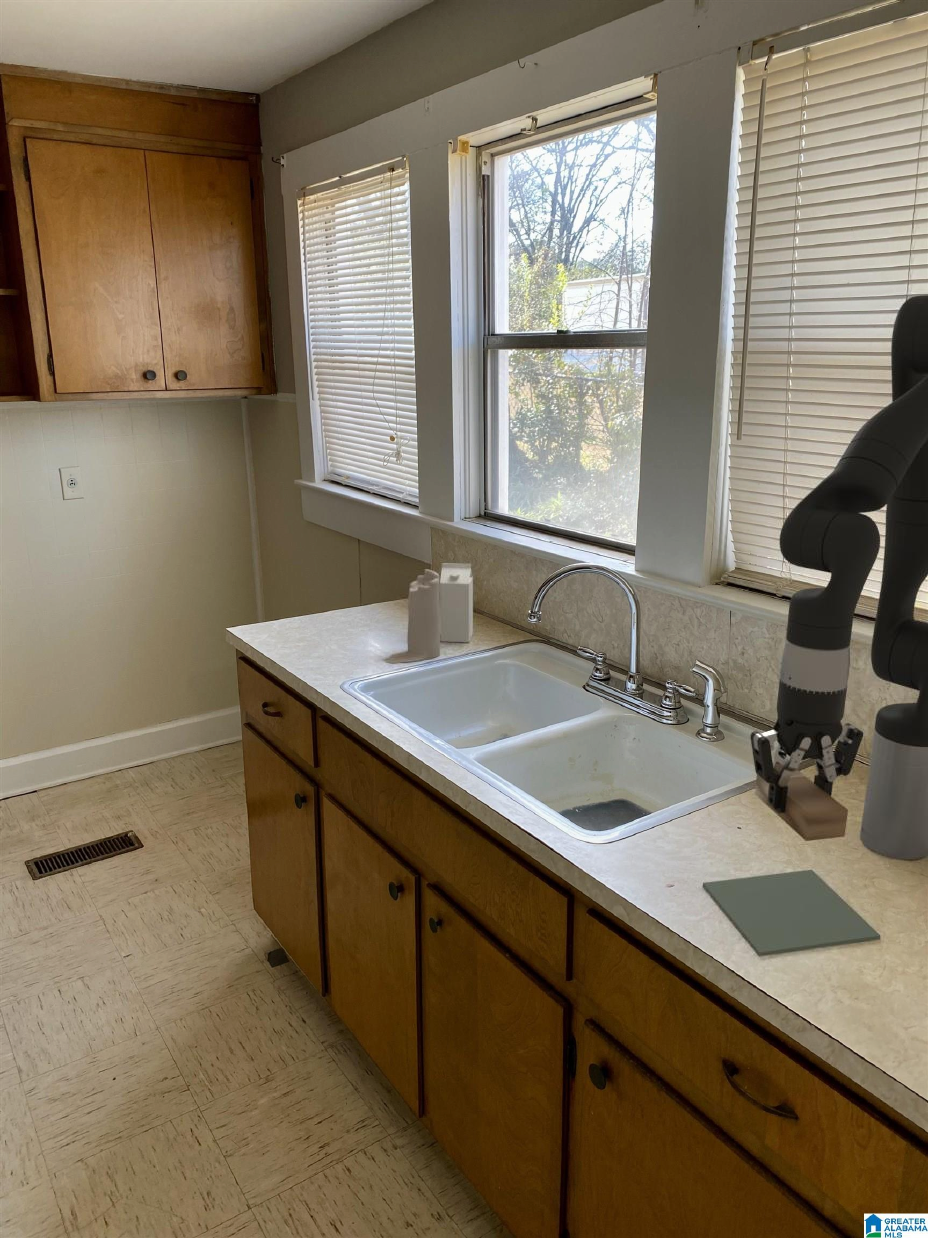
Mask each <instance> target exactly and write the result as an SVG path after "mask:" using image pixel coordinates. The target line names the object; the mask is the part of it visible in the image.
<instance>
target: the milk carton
mask: <svg viewBox="0 0 928 1238" xmlns="http://www.w3.org/2000/svg"><path fill="white" fill-rule="evenodd" d="M473 579H474V575H473V571H472V564H471V563H446V562H445V563H444V562H442V563H441V572H440V578H439V599H440V642H444V643H445V642H451V643H470V640H471V639H472V636H473V634H474V626H473V625H474V623H473V622H474V621H473V620H474V619H473V618H474V616H473V615H474V612H473V611H474V606H473V605H474V598H473V597H474V596H473V595H474V593H473V591H474V583H473V582H474V580H473Z"/></svg>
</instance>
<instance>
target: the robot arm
mask: <svg viewBox="0 0 928 1238" xmlns="http://www.w3.org/2000/svg"><path fill="white" fill-rule="evenodd" d="M893 323H894V324H893V328H892V336H891V347H890V348H891V349H890V350H891V351H890V354H891V355H890V358H891V359H890V360H891V361H890V362H891V363H890V366H891V367H890V368H891V403H889V404H888V405H887V406H885V407H883V408H882V409H881V410H879V411H878V412H877V413H876V414H874V415H873V416H872V417H871V418H870V419H868V420H867V421H866V422H865V423H864V424H863V425H862V426H861V427H860V428H859V429H858V431H857V432H856V433H855V434H854V436H853V438H852V439H851V441H850V442H849V444H848V446H847V447H846V449H845V451H844V452H843V453H842V456H841V457H840V459H839V461H838V462H837V464H836V466H835V467H834V469H833V471H832V472H831V473H830V474H829V475H827V476H826V477H825V478H824V479H823V480H821V482H819V484H817V485H816V486H815V487H814V489H812V490H811V491H810V492H809V493H808V494H806V496H805V497H803V498H802V499H801V501H799V502H798V503H797V504H796V506H795V507H793V508H792V510H791V511H790V512H789V514H788V515H787V516H786V519H785V520H784V522H783V524H782V527H781V530H780V534H779V548H780V553H781V554H782V557H783V559H784V560H785V561H787V563H789V564H790V565H793V566H794V567H795V566H796V567H800V568H803V569H809V570H815V571H820V572H825V573H828V574H830V578H829V579H830V580H829V581H828V583H827V584H826V586H825V587H812V588H810V587H809V588H804V589H799V590H797V591H796V592H795V593H793V594H792V596H791V599H790V601H789V604H788V605H789V606H788V615H787V616H788V617H787V627H786V633H785V634H786V635H785V641H784V647H783V650H782V654H781V661H780V670H779V679H778V681H779V683H778V691H777V699H776V700H777V701H776V713H777V715H776V716H777V719H776V722H775V723H774V725H773V727H772V729H771V730H768V731H765V732H762V733H760V731H757V730H755V731H754V730H753V731H752V732H751V733H750V736H749V737H750V743H751V750H752V757H753V763H754V771H755V774H756V775H757V774H758V775H759V776H760V777H761V778H762V779H763V780H765V781H766V782H767V783H770V786H769V796H768V802H769V804H770V805H771V806H772V808H773V809H774V810H775V811H776V812H778V813H784V812H785V807H786V798H787V793H788V786H787V783H788V781H789V779H790V777H791V774H792V772H793V771H796V770H798V768H799V766H800V763H801V762H803V761H805V760H808V759H811V760H813V761H814V766H815V769H816V772H817V774H815V775H814V776H813V777H814V779H813V782H814V784H816V785H817V786H818V787H819V788H821V789H822V790H823V791H825V792H826V793H827V794H829V795H830V796H831V797H832V794H833V785H834V782H835V781H836V779H838V777H839V776H843V777H847V776H849V775H850V773H851V771H852V768H853V765H854V762H855V760H856V757H857V754H858V750H859V748H860V745H861V742H862V741H863V737H864V732H863V731H862V730H861V729H859V728H858V727H857V726H854V725H853V724H851V723H849V722H847V723H844V724H842V722H841V721H842V720H843V718H844V714H845V706H846V700H847V690H848V683H849V675H850V669H851V668H850V667H851V651H850V650H851V640H852V633H853V631H852V630H853V626H854V625H853V622H854V615H855V614H854V613H855V611H856V609H857V604H858V603H859V600H860V597H861V594H862V593H863V589H864V587H865V584H866V583H867V579H868V578H869V575H870V573H871V571H872V569H873V568H874V565H875V563H876V561H877V557H878V555H879V553H880V549H881V535H880V530H879V528H878V525H877V524H876V522H875V521H874V519H872V518H871V517H870V516H868V515H867V514H864V513H871V512H872V513H873V512H876V511H879V510H882V509H883V508H884V507H886V510H885V533H884V535H885V536H884V537H885V538H884V550H883V551H884V554H883V563H882V566H883V567H882V576H881V577H882V578H881V585H880V590H879V596H878V597H879V598H878V602H877V607H876V608H877V609H876V615H875V621H874V627H873V634H872V639H871V649H870V662H871V666H872V670H873V673H874V674H875V676H877V677H878V678H879V679H881V680H883V681H886V682H889V683H892V684H895V685H897V686H902V687H905V688H909V689H912V690H915V691H918V698H917V700H916V701H915V702H902V703H892V704H887V705H885V706H883V707H881V708H880V709H878V711H877V712H876V716H875V722H874V730H873V737H872V738H873V739H872V743H871V744H872V745H871V753H870V759H869V766H868V775H867V781H866V783H867V784H866V789H865V796H864V797H865V798H864V804H863V812H862V819H861V826H860V834H859V836H860V838H859V839H860V840H861V843H862V844H864V846H865V847H867V848H868V849H870V850H871V851H873V852H875V853H877V854H878V855H882V856H885V857H889V858H891V859H892V858H894V859H898V860H905V861H906V860H908V861H910V860H919V859H923V858H925V857H926V856H928V622H927V621H921V620H917V619H915V614H914V613H915V604H916V599H917V595H918V592H919V590H920V588H921V586H922V584H923V583H924V582H925V580H926V579H927V577H928V294H927V295H926V294H925V295H916V296H912V297H909V298H908V299H905V301H904V302H903V303H902V304H901V306H900V307H899V309H898V312H897V313H896V316H895V320H894V322H893ZM776 741H777V743H778V744H777V747H776V750H775V747H774V746H775V742H776ZM836 741H837V743H836ZM835 743H836V746H835V748H834V752H833V747H832V746H833V745H834V744H835ZM774 750H775V752H774V754H773V756H772V752H773V751H774ZM787 756H788V757H789V758H788V757H787Z"/></svg>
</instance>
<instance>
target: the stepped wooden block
mask: <svg viewBox="0 0 928 1238" xmlns="http://www.w3.org/2000/svg"><path fill="white" fill-rule="evenodd" d="M769 786H770V783H767V782H766V781H765V780H763V779H762V778H761V777H760V776H759V775H758V774H757V773H756V778H755V791H754V795H755V796H756V797H757V798H758V799H760V801H762V802H763V803H764V804H765V805H766V806H767V807H768V808H769V809H770V810H772V811H773V813H775V814H776V815H777V816H778V817H779V818H780V819H781V820H782V821H783V822H785V824H787V826H789V827H790V828H791V829H792V830H793V831H794V832H795V833H797V835H799V836H800V837H801V838H802V839H803V840H804V841H806V842H810V841H811V842H812V841H820V840H827V839H837V838H845V835H846V831H847V830H846V829H847V823H848V822H847V821H848V815H849V814H848V813H849V809H848V808H846V807H845V806H844V805H843V804H841V803H840V802H839V801H838V800H836V799H835V798H834V797H832V795H831V796H830V795H829V794H827V793H826V792H825V791H823V790H822V789H821V788H819V787H818V786H817V785H816V784H814V781H813V780H812V779H810V778H808V777H807V776H806V775H805V774H804V773H802V772H801V771H800V770H798V769H797V770H796V771H793V772H792V774H791V777H790V779H789V781H788V783H787V786H788V793H787V798H786V807H785V812H784V813H778V812H776V811H775V810H774V809H773V808H772V806H771V805H770V804H769V802H768V796H769Z"/></svg>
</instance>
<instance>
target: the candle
mask: <svg viewBox="0 0 928 1238" xmlns="http://www.w3.org/2000/svg"><path fill="white" fill-rule="evenodd" d="M407 601H408V603H407V604H408V605H407V606H408V607H407V608H408V609H407V610H408V611H407V612H408V621H407V650H406V651H401V652H396V653H394V654H391V655H389V656H388V657H384V658H382V660H383V661H385V662H387V663H388V664H398V663H413V662H420V661H421V662H422V661H426V660H430V659H431V660H432V659H435V658H437V657H440V655H441V633H440V575H439V573H438V572H436V571H434V570H433V569H426V568H425V569H424V574H423V575H422V574H421V575H420V574H419V575H417V577H416V580H414V581H412V582H410V584H409V591H408V600H407Z"/></svg>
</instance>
